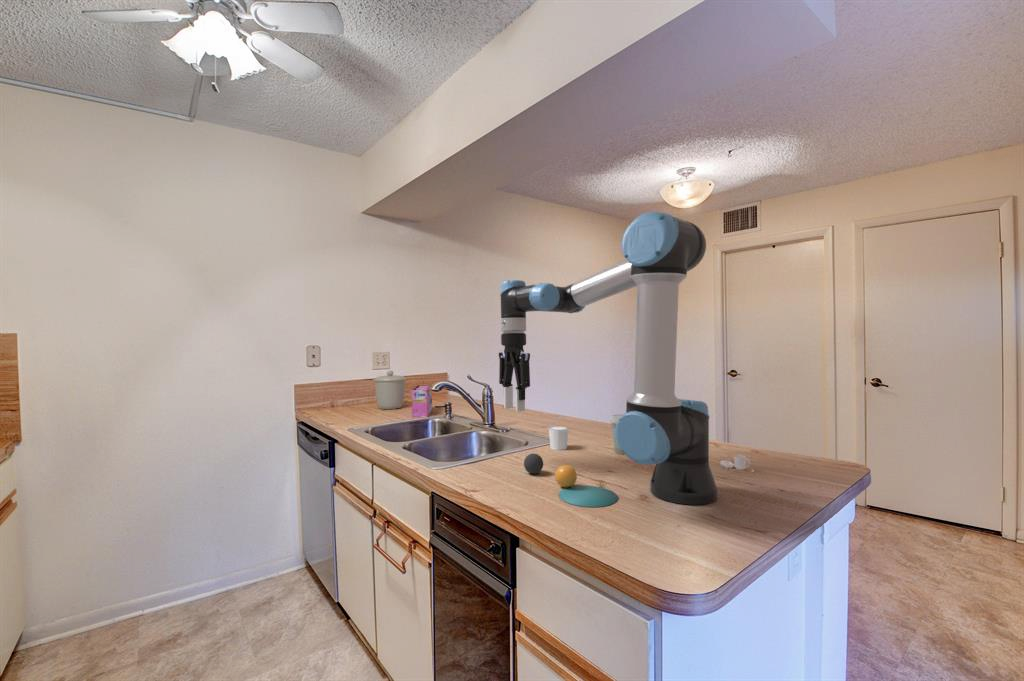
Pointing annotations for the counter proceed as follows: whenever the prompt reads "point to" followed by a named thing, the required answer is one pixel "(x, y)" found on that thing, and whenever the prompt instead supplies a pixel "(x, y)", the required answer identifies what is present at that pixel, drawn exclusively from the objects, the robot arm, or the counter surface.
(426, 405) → the gum box
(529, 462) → the dark gray ball
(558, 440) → the white tapered cylinder
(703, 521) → the counter surface
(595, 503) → the teal mark
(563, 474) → the orange ball
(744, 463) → the teacup and saucer
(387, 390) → the canister
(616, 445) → the coffee cup
